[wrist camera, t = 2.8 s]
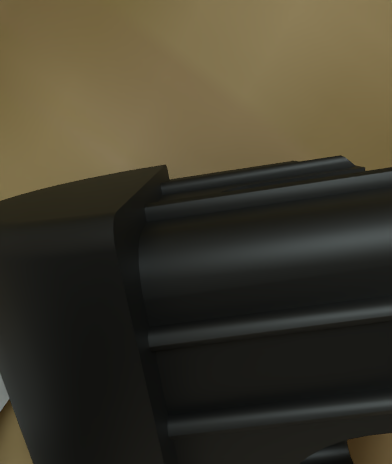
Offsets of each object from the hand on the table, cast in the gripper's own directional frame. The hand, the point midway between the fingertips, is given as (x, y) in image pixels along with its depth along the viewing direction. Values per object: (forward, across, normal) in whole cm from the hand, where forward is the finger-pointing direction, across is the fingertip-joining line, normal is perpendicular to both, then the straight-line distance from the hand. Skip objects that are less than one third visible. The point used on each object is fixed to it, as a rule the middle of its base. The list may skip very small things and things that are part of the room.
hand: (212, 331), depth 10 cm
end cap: (+1, 0, 0) cm, 1 cm away
